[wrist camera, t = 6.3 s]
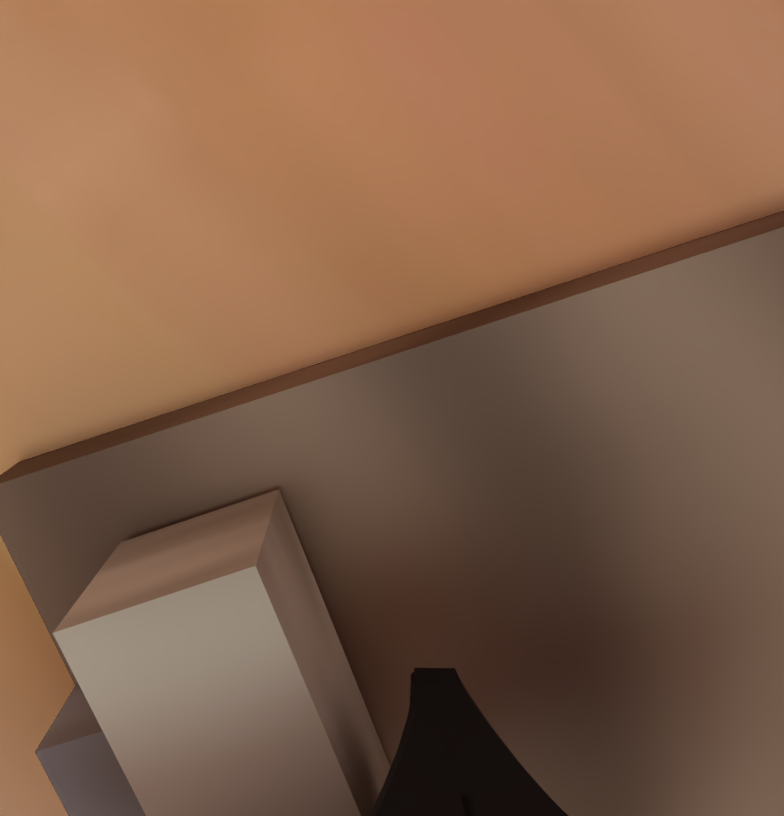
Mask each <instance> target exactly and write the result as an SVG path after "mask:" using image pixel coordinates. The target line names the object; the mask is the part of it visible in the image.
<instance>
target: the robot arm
mask: <svg viewBox="0 0 784 816" xmlns="http://www.w3.org/2000/svg"><path fill="white" fill-rule="evenodd" d="M369 816H568V815H567V814H566V813H565V812H564V811H563V810H562V809H561V808H560V807H559V806H558V805H557V804H556V803H555V802H554V801H553V800H552V799H551V798H550V796H549V795H548V794H547V793H546V792H545V791H544V790H543V789H542V788H541V787H540V785H539V784H538V783H537V782H536V781H535V780H534V779H533V778H532V776H531V775H530V774H529V773H528V772H527V771H526V770H525V768H524V767H523V766H522V765H521V764H520V762H519V761H518V760H517V759H516V758H515V756H514V755H513V754H512V752H511V751H510V750H509V749H508V747H507V746H506V745H505V743H504V742H503V741H502V740H501V738H500V737H499V736H498V734H497V733H496V732H495V730H494V729H493V728H492V726H491V725H490V724H489V722H488V721H487V720H486V718H485V717H484V715H483V714H482V712H481V711H480V709H479V708H478V707H477V705H476V704H475V702H474V701H473V699H472V698H471V696H470V694H469V693H468V691H467V690H466V688H465V687H464V685H463V683H462V682H461V680H460V678H459V676H458V674H457V672H456V669H455V668H414V672H413V673H412V674H411V684H410V705H409V712H408V716H407V720H406V723H405V727H404V730H403V733H402V737H401V740H400V743H399V747H398V749H397V752H396V755H395V757H394V760H393V762H392V765H391V767H390V770H389V772H388V775H387V777H386V780H385V782H384V785H383V787H382V789H381V791H380V793H379V796H378V798H377V800H376V802H375V804H374V806H373V808H372V810H371V812H370V814H369Z"/></svg>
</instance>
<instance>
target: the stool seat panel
mask: <svg viewBox="0 0 784 816" xmlns="http://www.w3.org/2000/svg"><path fill="white" fill-rule="evenodd" d="M278 489H279V491H280V493H281V496H282V498H283V501H284V503H285V506H286V508H287V511H288V513H289V516H290V518H291V521H292V523H293V526H294V528H295V531H296V533H297V536H298V538H299V541H300V543H301V546H302V548H303V551H304V553H305V556H306V558H307V561H308V563H309V566H310V568H311V571H312V573H313V576H314V578H315V581H316V583H317V586H318V588H319V591H320V593H321V596H322V598H323V601H324V603H325V606H326V608H327V611H328V613H329V615H330V618H331V620H332V623H333V625H334V628H335V630H336V633H337V635H338V638H339V640H340V643H341V645H342V648H343V650H344V653H345V655H346V658H347V660H348V663H349V665H350V668H351V670H352V673H353V675H354V678H355V680H356V683H357V685H358V688H359V690H360V693H361V695H362V698H363V700H364V703H365V705H366V708H367V710H368V713H369V715H370V718H371V720H372V723H373V725H374V728H375V730H376V733H377V735H378V738H379V740H380V743H381V745H382V747H383V750H384V752H385V755H386V757H387V760H388V762H389V765H390V767H391V765H392V762H393V760H394V757H395V755H396V752H397V749H398V747H399V743H400V740H401V737H402V733H403V730H404V727H405V723H406V720H407V716H408V712H409V705H410V684H411V674H412V673H413V672H414V668H455V669H456V672H457V674H458V676H459V678H460V680H461V682H462V683H463V685H464V687H465V688H466V690H467V691H468V693H469V694H470V696H471V698H472V699H473V701H474V702H475V704H476V705H477V707H478V708H479V709H480V711H481V712H482V714H483V715H484V717H485V718H486V720H487V721H488V722H489V724H490V725H491V726H492V728H493V729H494V730H495V732H496V733H497V734H498V736H499V737H500V738H501V740H502V741H503V742H504V743H505V745H506V746H507V747H508V749H509V750H510V751H511V752H512V754H513V755H514V756H515V758H516V759H517V760H518V761H519V762H520V764H521V765H522V766H523V767H524V768H525V770H526V771H527V772H528V773H529V774H530V775H531V776H532V778H533V779H534V780H535V781H536V782H537V783H538V784H539V785H540V787H541V788H542V789H543V790H544V791H545V792H546V793H547V794H548V795H549V796H550V798H551V799H552V800H553V801H554V802H555V803H556V804H557V805H558V806H559V807H560V808H561V809H562V810H563V811H564V812H565V813H566V814H567V815H568V816H784V211H782V212H779V213H776V214H773V215H770V216H767V217H764V218H761V219H758V220H755V221H752V222H749V223H746V224H743V225H740V226H737V227H734V228H731V229H728V230H725V231H721V232H718V233H715V234H712V235H709V236H706V237H703V238H700V239H697V240H694V241H691V242H688V243H685V244H682V245H679V246H676V247H673V248H670V249H667V250H664V251H661V252H658V253H654V254H651V255H648V256H645V257H642V258H639V259H636V260H633V261H630V262H627V263H624V264H621V265H618V266H615V267H612V268H609V269H606V270H603V271H600V272H597V273H594V274H591V275H587V276H584V277H581V278H578V279H575V280H572V281H569V282H566V283H563V284H560V285H557V286H554V287H551V288H548V289H545V290H542V291H539V292H536V293H533V294H530V295H527V296H524V297H520V298H517V299H514V300H511V301H508V302H505V303H502V304H499V305H496V306H493V307H490V308H487V309H484V310H481V311H478V312H475V313H472V314H469V315H466V316H463V317H460V318H456V319H453V320H450V321H447V322H444V323H441V324H438V325H435V326H432V327H429V328H426V329H423V330H420V331H417V332H414V333H411V334H408V335H405V336H402V337H399V338H396V339H393V340H389V341H386V342H383V343H380V344H377V345H374V346H371V347H368V348H365V349H362V350H359V351H356V352H353V353H350V354H347V355H344V356H341V357H338V358H335V359H332V360H329V361H326V362H322V363H319V364H316V365H313V366H310V367H307V368H304V369H301V370H298V371H295V372H292V373H289V374H286V375H283V376H280V377H277V378H274V379H271V380H268V381H265V382H262V383H259V384H255V385H252V386H249V387H246V388H243V389H240V390H237V391H234V392H231V393H228V394H225V395H222V396H219V397H216V398H213V399H210V400H207V401H204V402H201V403H198V404H195V405H192V406H188V407H185V408H182V409H179V410H176V411H173V412H170V413H167V414H164V415H161V416H158V417H155V418H152V419H149V420H146V421H143V422H140V423H137V424H134V425H131V426H128V427H125V428H121V429H118V430H115V431H112V432H109V433H106V434H103V435H100V436H97V437H94V438H91V439H88V440H85V441H82V442H79V443H76V444H73V445H70V446H67V447H64V448H61V449H58V450H54V451H51V452H48V453H45V454H42V455H39V456H36V457H33V458H30V459H27V460H24V461H21V462H18V463H17V464H16V465H14V466H13V467H11V468H10V469H9V470H7V471H6V472H4V473H3V474H1V475H0V535H1V537H2V539H3V541H4V543H5V545H6V547H7V549H8V551H9V553H10V555H11V557H12V559H13V561H14V563H15V565H16V567H17V569H18V571H19V573H20V575H21V577H22V579H23V581H24V583H25V585H26V587H27V589H28V591H29V593H30V595H31V597H32V599H33V601H34V603H35V605H36V607H37V609H38V611H39V613H40V615H41V617H42V619H43V621H44V623H45V625H46V627H47V629H48V631H49V633H50V635H51V637H52V639H53V641H54V643H55V645H56V647H57V649H58V651H59V653H60V655H61V657H62V659H63V661H64V663H65V665H66V667H67V669H68V671H69V673H70V675H71V677H72V679H73V681H74V683H75V685H76V686H75V688H74V689H73V691H72V693H71V694H70V696H69V698H68V699H67V701H66V702H65V704H64V706H63V707H62V709H61V711H60V712H59V714H58V715H57V717H56V719H55V720H54V722H53V724H52V725H51V727H50V729H49V730H48V732H47V733H46V735H45V737H44V738H43V740H42V742H41V743H40V745H39V746H38V748H37V750H36V751H35V753H36V755H37V757H38V758H39V760H40V762H41V764H42V766H43V768H44V770H45V772H46V774H47V776H48V777H49V779H50V781H51V783H52V785H53V787H54V789H55V791H56V793H57V794H58V796H59V798H60V800H61V802H62V804H63V806H64V808H65V810H66V812H67V813H68V815H69V816H146V815H145V813H144V811H143V809H142V807H141V805H140V803H139V801H138V799H137V797H136V795H135V793H134V791H133V789H132V787H131V785H130V783H129V781H128V779H127V777H126V776H125V774H124V772H123V770H122V768H121V766H120V764H119V762H118V760H117V758H116V756H115V754H114V752H113V750H112V748H111V746H110V744H109V742H108V740H107V738H106V736H105V734H104V733H103V731H102V729H101V727H100V725H99V723H98V721H97V719H96V717H95V715H94V713H93V711H92V709H91V707H90V705H89V703H88V701H87V699H86V697H85V695H84V693H83V692H82V690H81V688H80V686H79V684H78V682H77V680H76V678H75V676H74V674H73V672H72V670H71V668H70V666H69V664H68V662H67V660H66V658H65V656H64V654H63V652H62V651H61V649H60V647H59V645H58V643H57V641H56V639H55V637H54V635H53V632H54V630H55V629H56V628H57V626H58V625H59V624H60V622H61V621H62V620H63V618H64V617H65V616H66V614H67V613H68V612H69V610H70V609H71V608H72V606H73V605H74V604H75V602H76V601H77V600H78V598H79V597H80V596H81V594H82V593H83V592H84V590H85V589H86V588H87V586H88V585H89V584H90V582H91V581H92V580H93V578H94V577H95V576H96V574H97V573H98V572H99V570H100V569H101V568H102V566H103V565H104V564H105V562H106V561H107V560H108V558H109V557H110V556H111V554H112V553H113V552H114V550H115V549H116V548H117V546H118V545H119V543H120V542H123V541H126V540H129V539H132V538H135V537H138V536H141V535H144V534H147V533H150V532H153V531H156V530H159V529H162V528H165V527H168V526H171V525H174V524H177V523H180V522H183V521H186V520H189V519H192V518H195V517H198V516H201V515H204V514H207V513H210V512H213V511H216V510H219V509H222V508H225V507H228V506H231V505H234V504H237V503H240V502H243V501H245V500H248V499H251V498H254V497H257V496H260V495H263V494H266V493H269V492H272V491H275V490H278Z"/></svg>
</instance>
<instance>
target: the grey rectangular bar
mask: <svg viewBox="0 0 784 816" xmlns="http://www.w3.org/2000/svg"><path fill="white" fill-rule="evenodd" d="M53 635H54V637H55V639H56V641H57V643H58V645H59V647H60V649H61V651H62V652H63V654H64V656H65V658H66V660H67V662H68V664H69V666H70V668H71V670H72V672H73V674H74V676H75V678H76V680H77V682H78V684H79V686H80V688H81V690H82V692H83V693H84V695H85V697H86V699H87V701H88V703H89V705H90V707H91V709H92V711H93V713H94V715H95V717H96V719H97V721H98V723H99V725H100V727H101V729H102V731H103V733H104V734H105V736H106V738H107V740H108V742H109V744H110V746H111V748H112V750H113V752H114V754H115V756H116V758H117V760H118V762H119V764H120V766H121V768H122V770H123V772H124V774H125V776H126V777H127V779H128V781H129V783H130V785H131V787H132V789H133V791H134V793H135V795H136V797H137V799H138V801H139V803H140V805H141V807H142V809H143V811H144V813H145V815H146V816H369V814H370V812H371V810H372V808H373V806H374V804H375V802H376V800H377V798H378V796H379V793H380V791H381V789H382V787H383V785H384V782H385V780H386V777H387V775H388V772H389V770H390V765H389V762H388V760H387V757H386V755H385V752H384V750H383V747H382V745H381V743H380V740H379V738H378V735H377V733H376V730H375V728H374V725H373V723H372V720H371V718H370V715H369V713H368V710H367V708H366V705H365V703H364V700H363V698H362V695H361V693H360V690H359V688H358V685H357V683H356V680H355V678H354V675H353V673H352V670H351V668H350V665H349V663H348V660H347V658H346V655H345V653H344V650H343V648H342V645H341V643H340V640H339V638H338V635H337V633H336V630H335V628H334V625H333V623H332V620H331V618H330V615H329V613H328V611H327V608H326V606H325V603H324V601H323V598H322V596H321V593H320V591H319V588H318V586H317V583H316V581H315V578H314V576H313V573H312V571H311V568H310V566H309V563H308V561H307V558H306V556H305V553H304V551H303V548H302V546H301V543H300V541H299V538H298V536H297V533H296V531H295V528H294V526H293V523H292V521H291V518H290V516H289V513H288V511H287V508H286V506H285V503H284V501H283V498H282V496H281V493H280V491H279V489H278V490H275V491H272V492H269V493H266V494H263V495H260V496H257V497H254V498H251V499H248V500H245V501H243V502H240V503H237V504H234V505H231V506H228V507H225V508H222V509H219V510H216V511H213V512H210V513H207V514H204V515H201V516H198V517H195V518H192V519H189V520H186V521H183V522H180V523H177V524H174V525H171V526H168V527H165V528H162V529H159V530H156V531H153V532H150V533H147V534H144V535H141V536H138V537H135V538H132V539H129V540H126V541H123V542H120V543H119V545H118V546H117V548H116V549H115V550H114V552H113V553H112V554H111V556H110V557H109V558H108V560H107V561H106V562H105V564H104V565H103V566H102V568H101V569H100V570H99V572H98V573H97V574H96V576H95V577H94V578H93V580H92V581H91V582H90V584H89V585H88V586H87V588H86V589H85V590H84V592H83V593H82V594H81V596H80V597H79V598H78V600H77V601H76V602H75V604H74V605H73V606H72V608H71V609H70V610H69V612H68V613H67V614H66V616H65V617H64V618H63V620H62V621H61V622H60V624H59V625H58V626H57V628H56V629H55V630H54V632H53Z"/></svg>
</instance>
